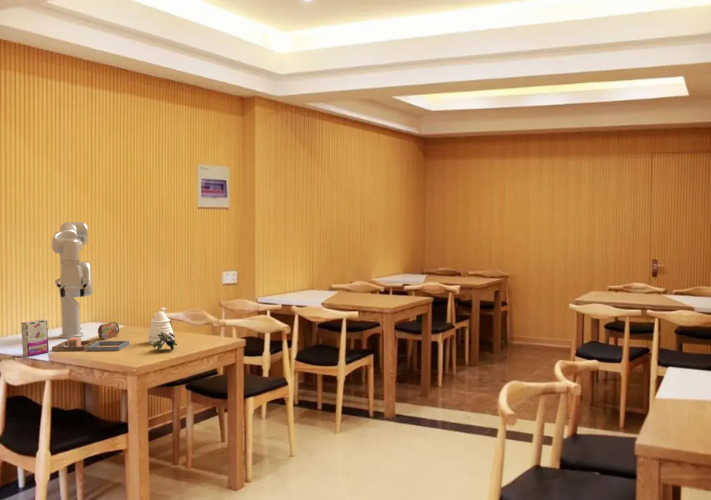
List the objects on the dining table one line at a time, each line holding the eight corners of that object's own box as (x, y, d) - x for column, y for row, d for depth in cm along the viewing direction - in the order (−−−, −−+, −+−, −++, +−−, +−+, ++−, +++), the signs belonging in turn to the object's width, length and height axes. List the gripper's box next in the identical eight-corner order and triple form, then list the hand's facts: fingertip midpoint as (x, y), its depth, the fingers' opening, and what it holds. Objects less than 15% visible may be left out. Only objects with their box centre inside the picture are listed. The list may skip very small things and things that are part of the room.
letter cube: (71, 347, 352) (71, 337, 352) (81, 346, 352) (80, 337, 352) (67, 349, 347) (67, 339, 347) (77, 348, 347) (76, 339, 347)
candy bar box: (43, 351, 341) (41, 319, 340) (49, 352, 338) (47, 320, 337) (21, 355, 331) (20, 322, 330) (28, 356, 328) (26, 323, 327)
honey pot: (163, 338, 372) (162, 306, 371) (178, 341, 364) (177, 308, 363) (143, 342, 361) (142, 309, 360) (159, 345, 354) (158, 311, 353)
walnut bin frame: (65, 344, 357) (65, 341, 357) (95, 344, 358) (95, 340, 357) (52, 351, 341) (51, 347, 341) (83, 350, 342) (83, 346, 342)
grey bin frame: (98, 344, 357) (98, 341, 356) (129, 344, 357) (129, 340, 357) (87, 351, 341) (87, 347, 341) (119, 350, 341) (118, 346, 341)
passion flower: (171, 360, 343) (183, 341, 340) (154, 360, 334) (166, 341, 331) (161, 345, 349) (172, 327, 346) (143, 345, 340) (155, 326, 337)
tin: (101, 340, 369) (101, 325, 368) (97, 340, 370) (96, 325, 369) (119, 335, 383) (119, 320, 383) (115, 335, 384) (114, 320, 384)
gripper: (51, 264, 343) (52, 297, 344) (85, 263, 343) (86, 297, 344) (57, 263, 351) (58, 296, 351) (91, 262, 351) (92, 295, 352)
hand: (72, 296), depth 348 cm, fingers open, 9 cm apart
